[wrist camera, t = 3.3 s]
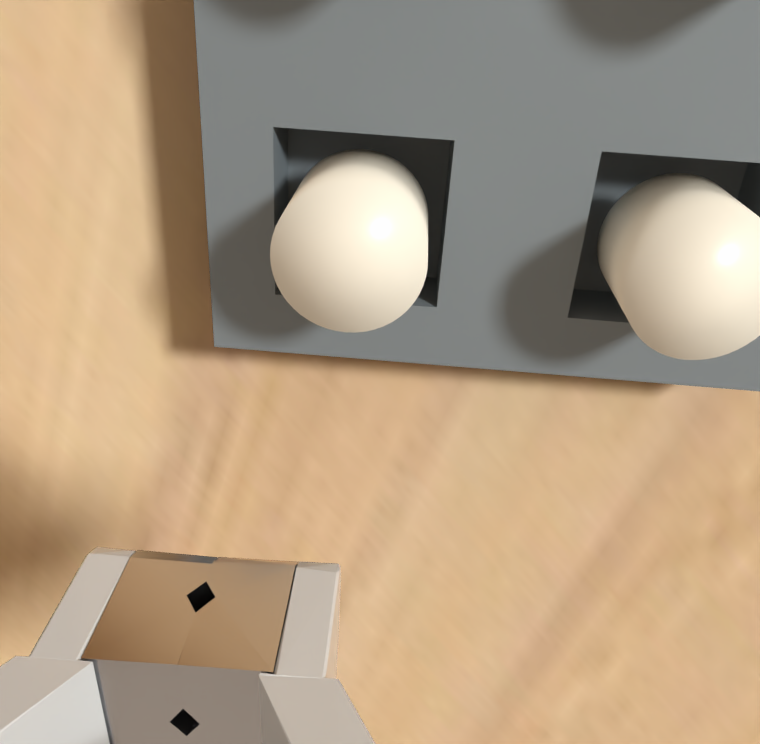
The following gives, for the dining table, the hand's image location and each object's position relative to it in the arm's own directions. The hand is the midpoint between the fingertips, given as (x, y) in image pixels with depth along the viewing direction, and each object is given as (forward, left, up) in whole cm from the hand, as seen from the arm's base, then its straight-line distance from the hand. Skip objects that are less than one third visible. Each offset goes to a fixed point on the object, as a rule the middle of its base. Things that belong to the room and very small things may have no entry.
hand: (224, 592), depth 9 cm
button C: (-9, 0, -15) cm, 17 cm away
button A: (0, 0, -15) cm, 15 cm away
